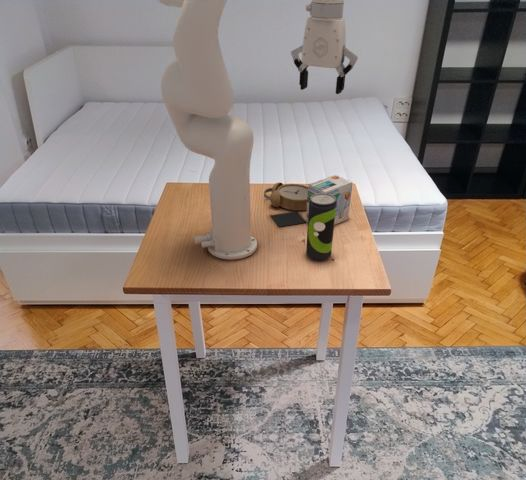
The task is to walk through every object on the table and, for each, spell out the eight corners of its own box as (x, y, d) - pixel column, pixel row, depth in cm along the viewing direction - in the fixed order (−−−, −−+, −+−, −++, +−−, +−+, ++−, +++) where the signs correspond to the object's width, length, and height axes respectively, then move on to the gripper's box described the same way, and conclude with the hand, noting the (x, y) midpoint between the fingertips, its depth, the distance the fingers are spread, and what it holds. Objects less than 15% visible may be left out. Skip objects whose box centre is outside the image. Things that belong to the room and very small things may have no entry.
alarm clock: (315, 202, 140) (263, 191, 140) (311, 218, 143) (260, 207, 143) (316, 186, 149) (267, 175, 148) (312, 201, 152) (264, 191, 151)
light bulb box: (321, 230, 134) (325, 192, 127) (304, 221, 138) (306, 184, 131) (349, 219, 139) (353, 181, 132) (332, 210, 143) (335, 173, 136)
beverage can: (316, 247, 127) (320, 190, 117) (336, 255, 124) (342, 197, 114) (300, 256, 124) (303, 198, 114) (320, 265, 121) (325, 206, 111)
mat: (279, 227, 135) (279, 226, 135) (270, 216, 140) (270, 215, 140) (306, 223, 137) (306, 222, 137) (297, 212, 142) (297, 211, 142)
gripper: (287, 11, 119) (284, 90, 130) (357, 15, 113) (348, 98, 124) (299, 7, 124) (296, 84, 135) (366, 12, 118) (357, 91, 129)
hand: (321, 90), depth 129 cm, fingers open, 9 cm apart
